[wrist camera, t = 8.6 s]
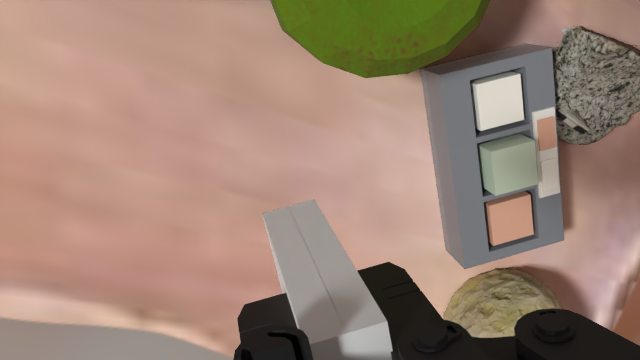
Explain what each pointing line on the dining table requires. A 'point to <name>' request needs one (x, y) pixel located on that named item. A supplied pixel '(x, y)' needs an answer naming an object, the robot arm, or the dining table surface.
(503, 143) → the key
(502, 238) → the key
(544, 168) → the keypad
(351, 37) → the apple
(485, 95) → the key
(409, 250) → the dining table surface
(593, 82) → the rock sample
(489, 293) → the decorative object
